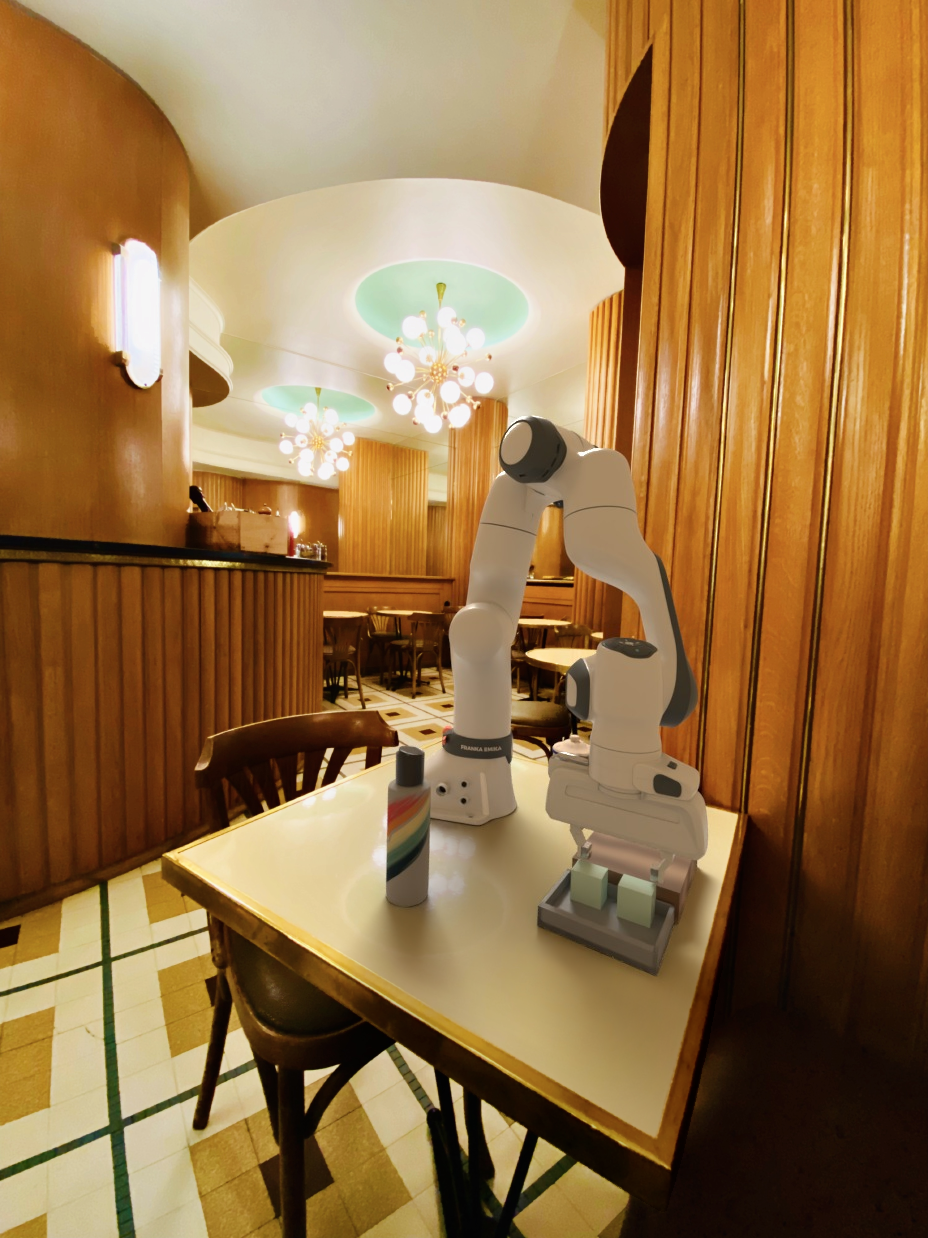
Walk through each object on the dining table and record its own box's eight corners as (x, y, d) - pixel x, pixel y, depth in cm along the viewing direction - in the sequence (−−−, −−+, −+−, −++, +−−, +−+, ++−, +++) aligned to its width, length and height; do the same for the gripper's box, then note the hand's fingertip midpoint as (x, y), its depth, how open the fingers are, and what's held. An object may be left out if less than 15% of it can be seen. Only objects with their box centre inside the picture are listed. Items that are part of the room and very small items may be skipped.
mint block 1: (578, 859, 67) (571, 869, 64) (608, 868, 65) (601, 879, 62) (577, 887, 67) (570, 899, 64) (606, 898, 65) (600, 910, 62)
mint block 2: (623, 873, 63) (617, 885, 61) (656, 884, 61) (651, 896, 59) (622, 903, 64) (616, 916, 61) (654, 915, 62) (650, 928, 59)
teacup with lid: (566, 779, 109) (568, 727, 108) (603, 791, 102) (605, 736, 101) (533, 793, 100) (535, 737, 100) (570, 808, 94) (573, 748, 93)
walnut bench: (605, 839, 82) (606, 815, 82) (697, 866, 75) (698, 840, 74) (571, 885, 69) (572, 857, 69) (678, 924, 61) (679, 893, 61)
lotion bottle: (387, 882, 68) (390, 741, 67) (428, 881, 69) (431, 741, 68) (384, 908, 63) (387, 755, 62) (428, 907, 63) (432, 755, 62)
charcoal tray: (567, 886, 69) (567, 868, 68) (674, 925, 61) (675, 906, 61) (537, 925, 60) (537, 905, 60) (656, 976, 53) (657, 954, 52)
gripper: (539, 754, 66) (536, 854, 67) (706, 791, 55) (700, 909, 56) (557, 743, 72) (554, 835, 72) (713, 774, 61) (707, 882, 61)
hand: (619, 868), depth 64 cm, fingers open, 8 cm apart
